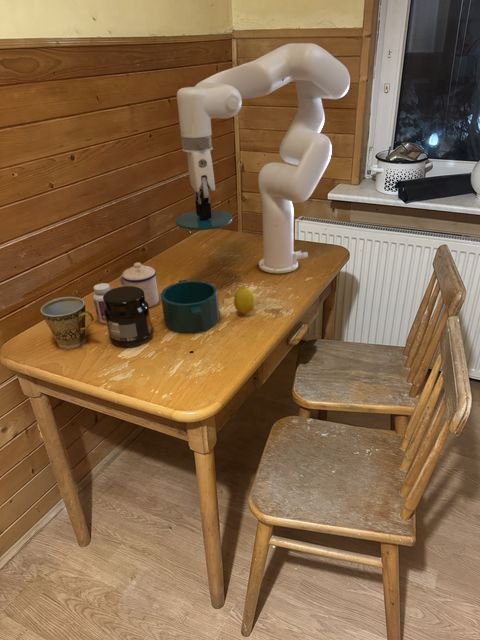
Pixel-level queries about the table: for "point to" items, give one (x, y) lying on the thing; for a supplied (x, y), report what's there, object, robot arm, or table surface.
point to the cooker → (190, 306)
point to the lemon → (244, 300)
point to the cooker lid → (204, 220)
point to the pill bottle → (100, 300)
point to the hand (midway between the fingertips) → (204, 216)
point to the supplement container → (127, 316)
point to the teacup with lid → (142, 281)
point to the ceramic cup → (67, 320)
